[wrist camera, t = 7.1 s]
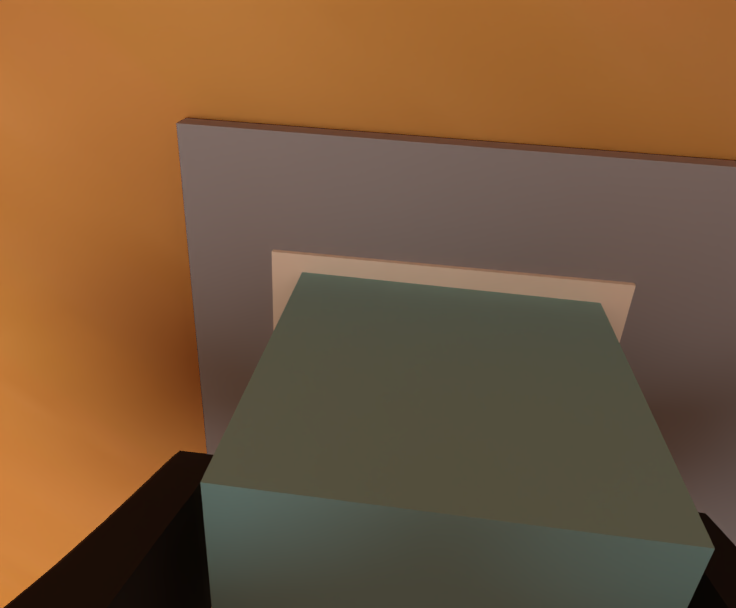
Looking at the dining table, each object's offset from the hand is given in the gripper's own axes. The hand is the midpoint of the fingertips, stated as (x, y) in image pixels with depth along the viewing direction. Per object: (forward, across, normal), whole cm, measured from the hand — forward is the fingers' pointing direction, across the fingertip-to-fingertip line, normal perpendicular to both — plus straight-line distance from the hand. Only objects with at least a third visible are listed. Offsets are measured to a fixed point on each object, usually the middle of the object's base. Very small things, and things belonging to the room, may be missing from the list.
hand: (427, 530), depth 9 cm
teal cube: (+3, 0, 0) cm, 3 cm away
